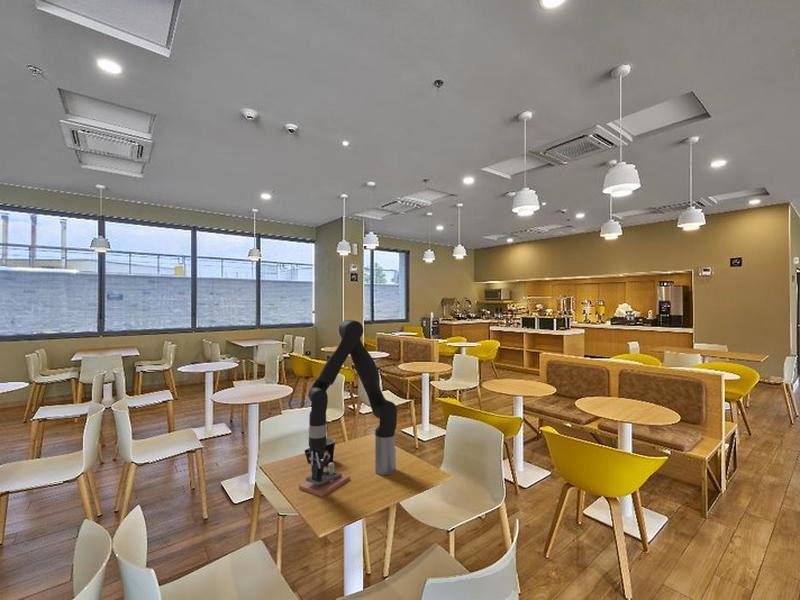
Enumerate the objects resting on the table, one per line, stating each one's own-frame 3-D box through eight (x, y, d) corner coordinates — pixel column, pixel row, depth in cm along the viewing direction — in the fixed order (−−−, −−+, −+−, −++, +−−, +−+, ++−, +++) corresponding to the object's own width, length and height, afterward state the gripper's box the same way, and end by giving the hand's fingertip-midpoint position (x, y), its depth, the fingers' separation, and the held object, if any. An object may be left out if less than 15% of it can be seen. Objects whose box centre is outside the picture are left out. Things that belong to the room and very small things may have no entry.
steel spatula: (329, 472, 169) (330, 456, 170) (341, 476, 165) (343, 459, 166) (305, 480, 157) (307, 463, 158) (318, 485, 153) (320, 466, 154)
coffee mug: (338, 459, 187) (338, 439, 188) (328, 466, 180) (328, 445, 180) (319, 455, 192) (319, 436, 193) (309, 462, 185) (309, 442, 185)
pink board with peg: (328, 472, 173) (328, 455, 173) (349, 479, 166) (349, 461, 166) (299, 489, 157) (299, 470, 157) (321, 497, 150) (321, 477, 151)
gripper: (336, 434, 158) (335, 475, 157) (312, 429, 165) (311, 468, 165) (323, 440, 151) (323, 482, 151) (299, 434, 159) (299, 474, 158)
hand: (317, 475), depth 158 cm, fingers closed on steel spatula, 3 cm apart
